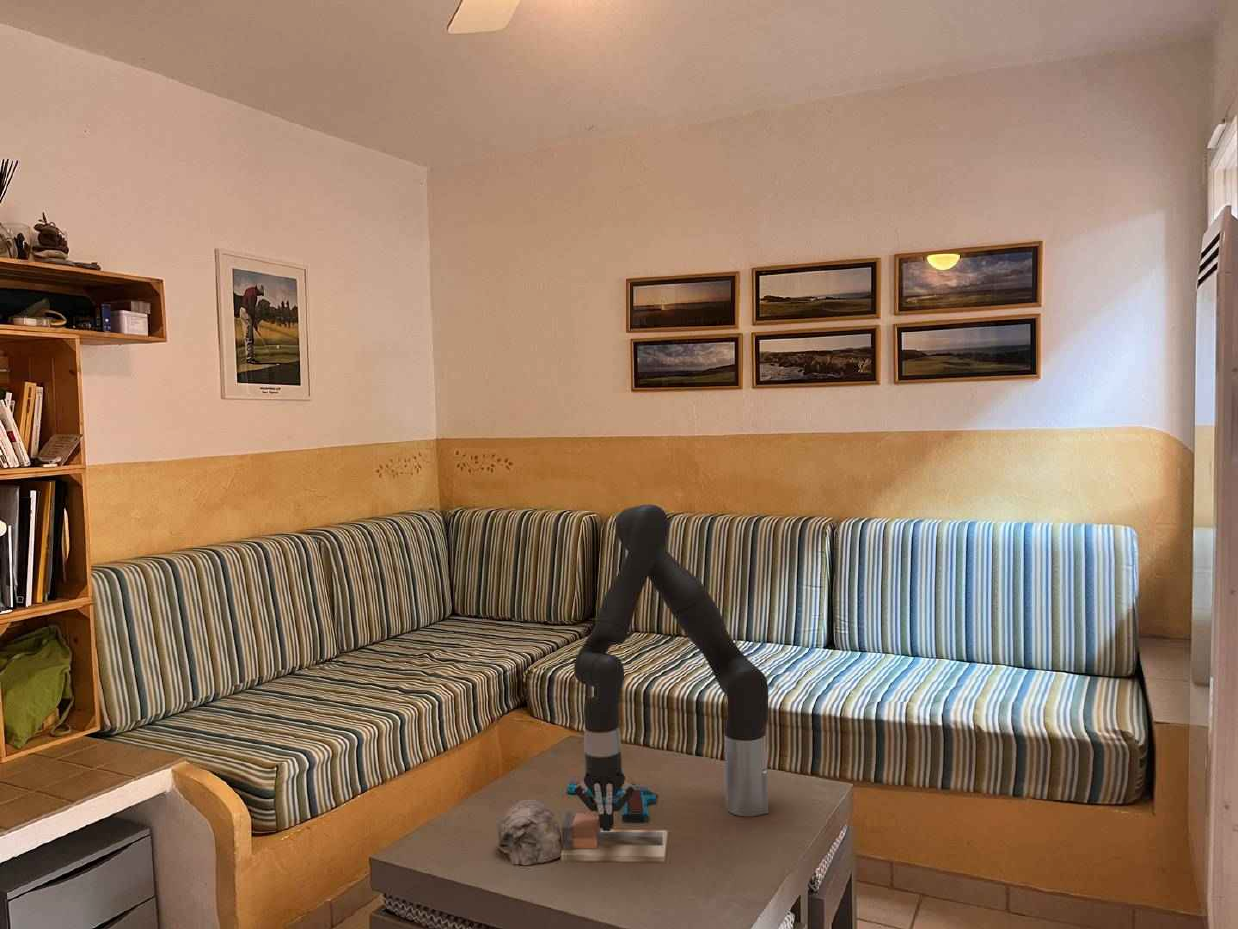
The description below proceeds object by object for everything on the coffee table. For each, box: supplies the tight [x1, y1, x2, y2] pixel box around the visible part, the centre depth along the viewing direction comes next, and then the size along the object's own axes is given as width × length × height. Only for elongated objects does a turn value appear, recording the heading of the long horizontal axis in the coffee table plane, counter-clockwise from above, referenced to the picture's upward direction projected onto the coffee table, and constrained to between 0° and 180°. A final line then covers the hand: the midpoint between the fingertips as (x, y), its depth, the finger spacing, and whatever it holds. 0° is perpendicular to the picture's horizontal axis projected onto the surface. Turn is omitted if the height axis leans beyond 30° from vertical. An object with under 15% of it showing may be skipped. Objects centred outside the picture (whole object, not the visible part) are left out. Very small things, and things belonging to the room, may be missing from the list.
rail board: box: [560, 811, 669, 863], centre depth 195 cm, size 21×11×6 cm, turn 84°
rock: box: [497, 798, 563, 866], centre depth 195 cm, size 15×12×10 cm
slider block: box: [572, 812, 602, 848], centre depth 196 cm, size 5×6×5 cm
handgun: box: [566, 780, 659, 823], centre depth 215 cm, size 23×3×15 cm
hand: (606, 829), depth 195 cm, fingers closed
